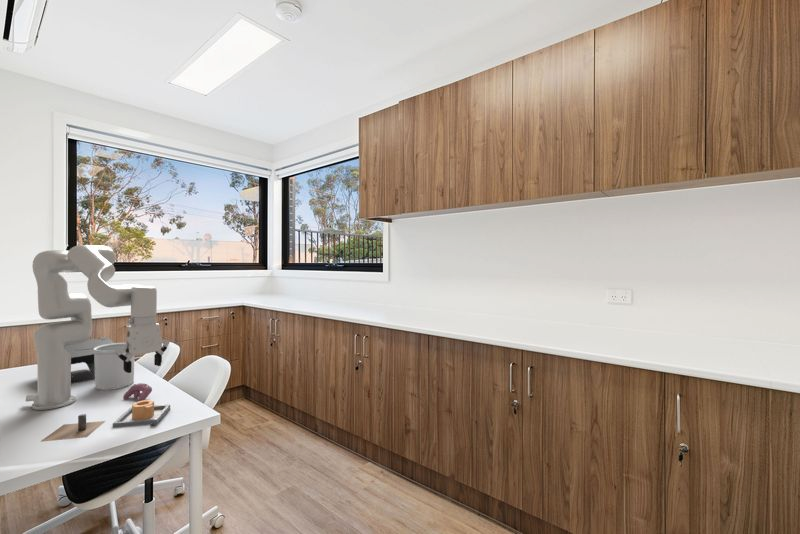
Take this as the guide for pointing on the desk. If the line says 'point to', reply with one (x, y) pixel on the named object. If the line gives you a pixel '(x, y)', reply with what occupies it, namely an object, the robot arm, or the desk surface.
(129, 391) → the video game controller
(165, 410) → the tray
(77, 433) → the base
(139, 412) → the collar
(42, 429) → the desk surface
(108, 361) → the utensil holder
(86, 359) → the portable electronic device stand
